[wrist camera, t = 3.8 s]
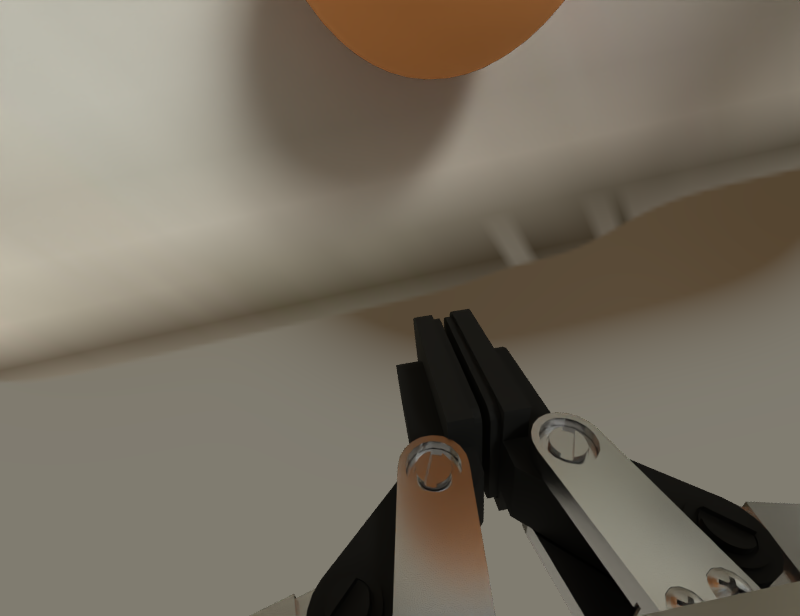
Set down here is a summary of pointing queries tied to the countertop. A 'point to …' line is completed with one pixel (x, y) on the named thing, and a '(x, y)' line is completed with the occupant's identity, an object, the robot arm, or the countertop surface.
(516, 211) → the countertop surface
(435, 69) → the ball
